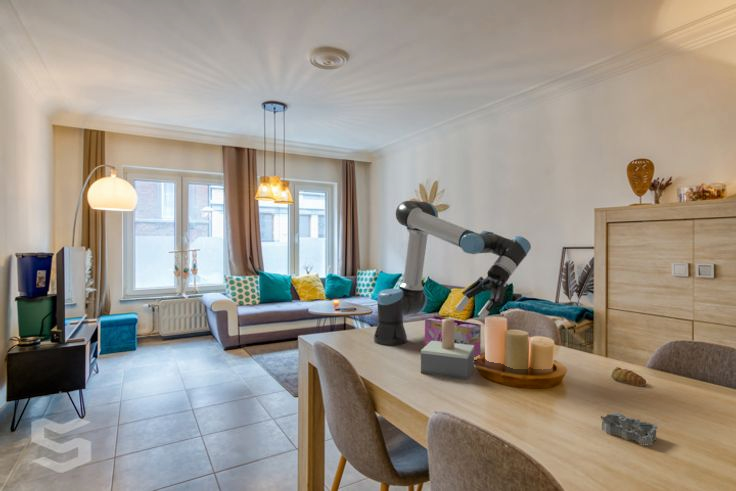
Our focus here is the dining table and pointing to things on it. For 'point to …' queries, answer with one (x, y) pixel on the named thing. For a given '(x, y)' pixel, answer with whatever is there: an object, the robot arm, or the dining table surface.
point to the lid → (448, 343)
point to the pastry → (628, 377)
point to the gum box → (462, 332)
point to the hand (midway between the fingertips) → (468, 313)
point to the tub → (447, 365)
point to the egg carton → (619, 423)
